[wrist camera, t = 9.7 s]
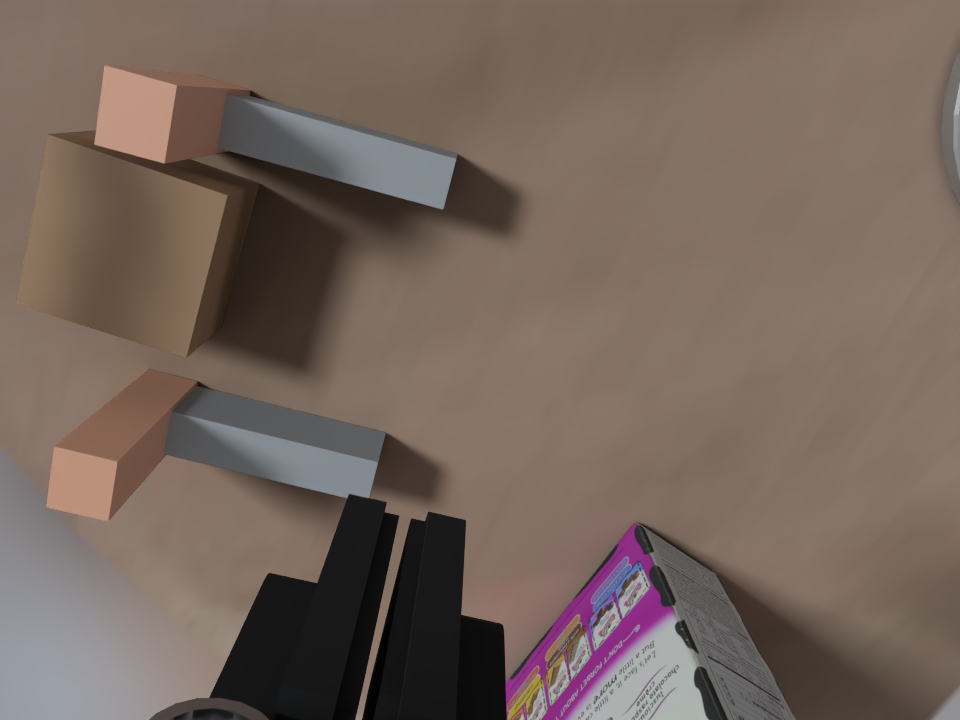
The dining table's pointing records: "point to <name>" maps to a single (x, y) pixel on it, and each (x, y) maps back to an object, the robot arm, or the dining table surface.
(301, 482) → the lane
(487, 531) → the dining table surface
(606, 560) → the milk carton
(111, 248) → the walnut block
